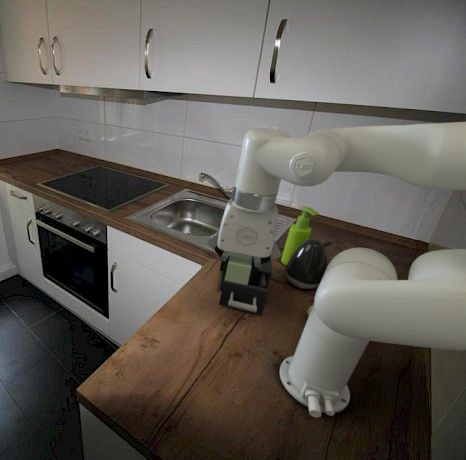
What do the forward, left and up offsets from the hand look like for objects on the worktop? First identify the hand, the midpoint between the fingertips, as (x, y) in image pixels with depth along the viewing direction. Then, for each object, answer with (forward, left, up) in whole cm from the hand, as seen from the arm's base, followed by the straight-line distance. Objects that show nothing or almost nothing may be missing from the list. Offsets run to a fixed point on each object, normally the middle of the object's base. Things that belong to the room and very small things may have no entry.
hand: (236, 275), depth 68 cm
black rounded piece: (+31, -20, -19) cm, 41 cm away
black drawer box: (+25, -3, -18) cm, 31 cm away
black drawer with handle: (+14, -3, -17) cm, 23 cm away
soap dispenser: (+42, -18, -19) cm, 49 cm away
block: (0, 0, 0) cm, 0 cm away
